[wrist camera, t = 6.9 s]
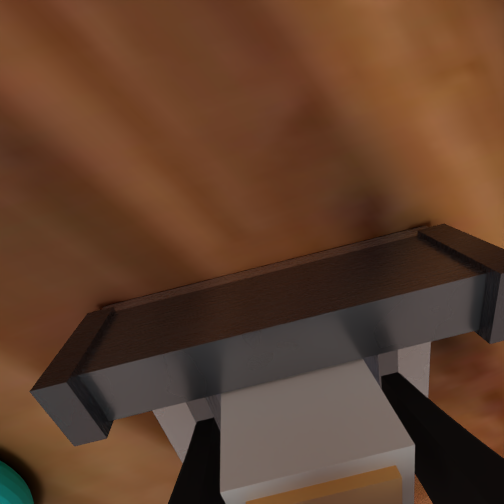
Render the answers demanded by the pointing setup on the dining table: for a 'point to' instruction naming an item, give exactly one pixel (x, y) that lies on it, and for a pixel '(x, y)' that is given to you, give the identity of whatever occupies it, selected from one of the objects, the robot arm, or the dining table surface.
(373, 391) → the block
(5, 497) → the donuts
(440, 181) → the dining table surface
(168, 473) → the dining table surface
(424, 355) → the rail
